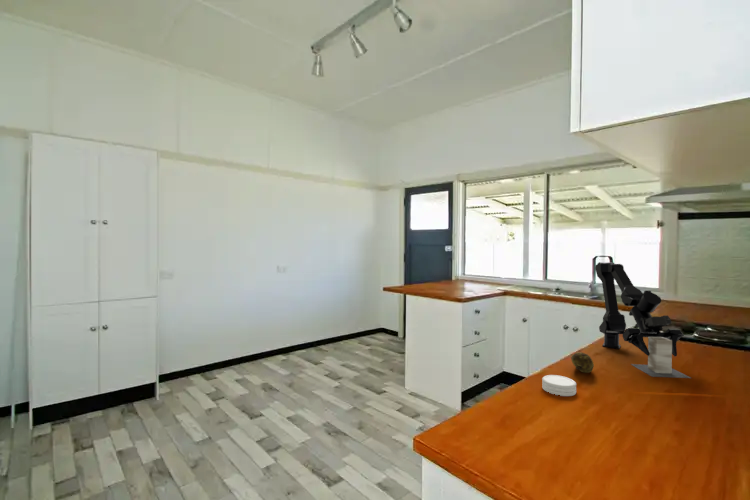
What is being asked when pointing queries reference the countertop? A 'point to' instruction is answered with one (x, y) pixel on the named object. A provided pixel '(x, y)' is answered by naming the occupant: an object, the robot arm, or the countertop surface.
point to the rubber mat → (674, 373)
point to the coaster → (559, 385)
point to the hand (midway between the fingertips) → (662, 355)
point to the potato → (582, 362)
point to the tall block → (660, 354)
